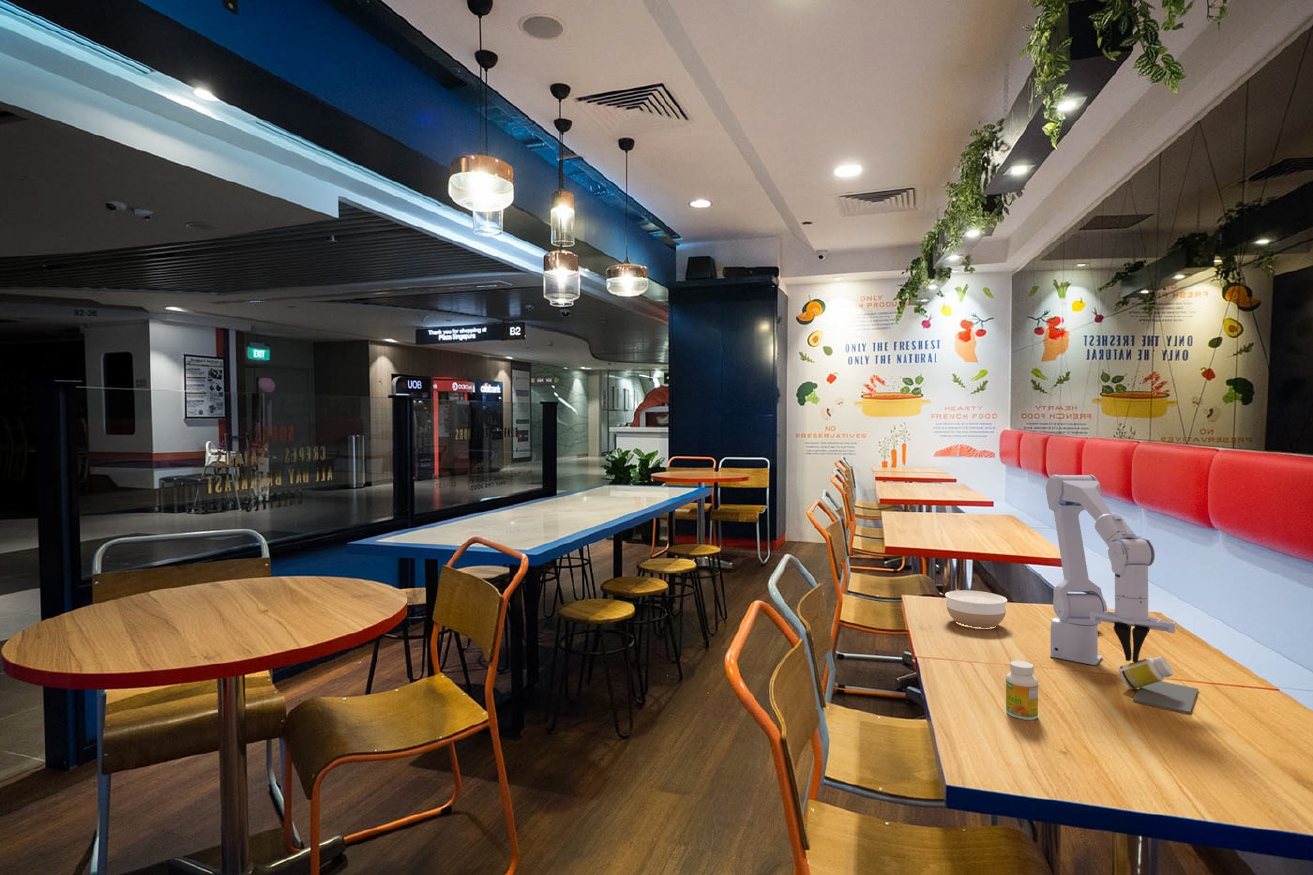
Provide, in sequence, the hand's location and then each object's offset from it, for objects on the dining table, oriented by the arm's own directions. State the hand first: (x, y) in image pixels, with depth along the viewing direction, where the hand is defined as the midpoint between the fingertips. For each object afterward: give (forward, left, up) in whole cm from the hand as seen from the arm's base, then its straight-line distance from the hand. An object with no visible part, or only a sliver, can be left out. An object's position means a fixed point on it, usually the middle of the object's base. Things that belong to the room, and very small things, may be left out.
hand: (1131, 660), depth 139 cm
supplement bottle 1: (-13, -30, -6) cm, 33 cm away
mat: (+6, 0, -6) cm, 8 cm away
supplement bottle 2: (-1, 0, -4) cm, 4 cm away
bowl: (-40, +29, -6) cm, 50 cm away
